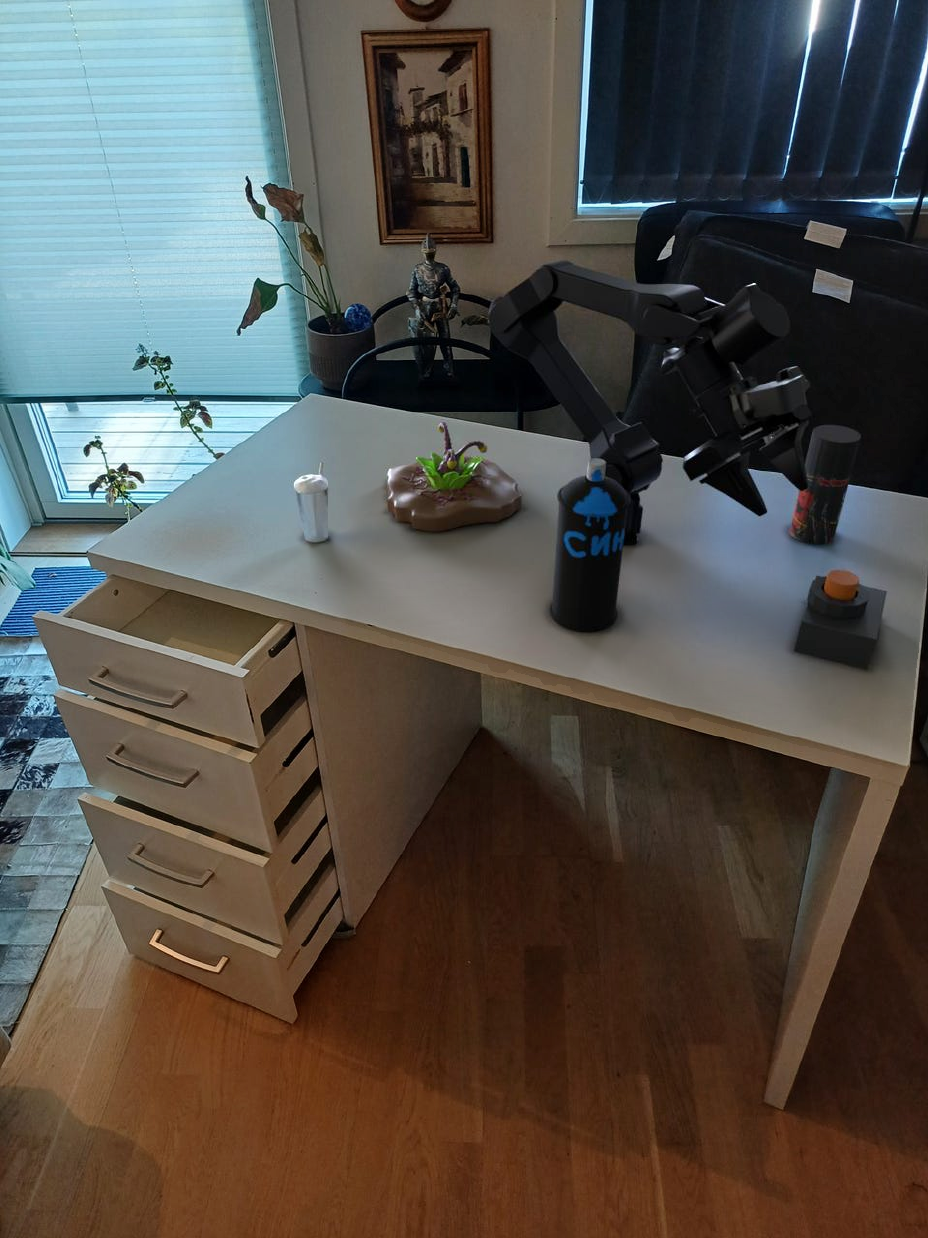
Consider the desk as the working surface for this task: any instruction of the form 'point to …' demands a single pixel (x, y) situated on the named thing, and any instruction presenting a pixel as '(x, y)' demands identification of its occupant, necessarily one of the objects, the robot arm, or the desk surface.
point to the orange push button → (841, 584)
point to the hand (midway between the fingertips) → (785, 501)
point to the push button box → (841, 625)
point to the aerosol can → (589, 550)
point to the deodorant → (824, 484)
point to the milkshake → (313, 505)
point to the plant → (451, 490)
